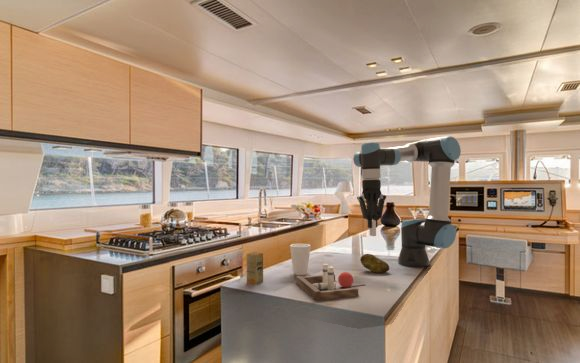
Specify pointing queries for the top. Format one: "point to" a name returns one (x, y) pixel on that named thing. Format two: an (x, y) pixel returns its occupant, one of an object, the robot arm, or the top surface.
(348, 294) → the rail
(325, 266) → the pin
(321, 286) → the front pin
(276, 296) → the top surface
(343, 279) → the ball
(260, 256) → the shoe polish box
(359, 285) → the thin gray bar
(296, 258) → the foam cup
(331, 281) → the pin
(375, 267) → the potato
